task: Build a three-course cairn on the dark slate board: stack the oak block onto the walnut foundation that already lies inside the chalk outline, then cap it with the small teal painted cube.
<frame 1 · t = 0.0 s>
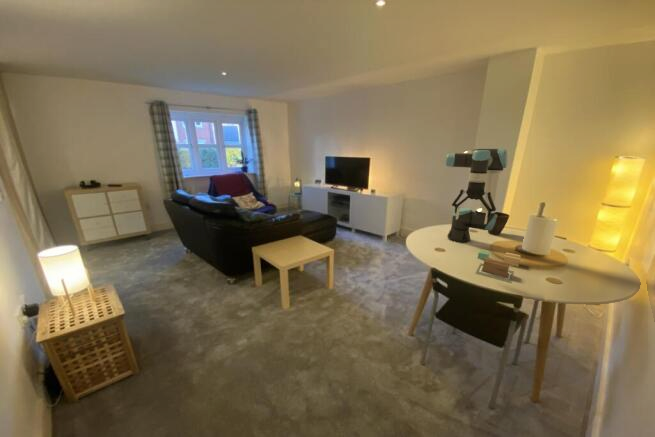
hand: (470, 221, 137), 28 cm above the table, fingers open, 13 cm apart
teal cap: (482, 259, 156), on the table
oak block: (510, 265, 149), on the table
walnut foundation: (494, 272, 138), point 1 cm above the table, touching slate board
slate board: (494, 274, 138), on the table
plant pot: (494, 233, 201), on the table
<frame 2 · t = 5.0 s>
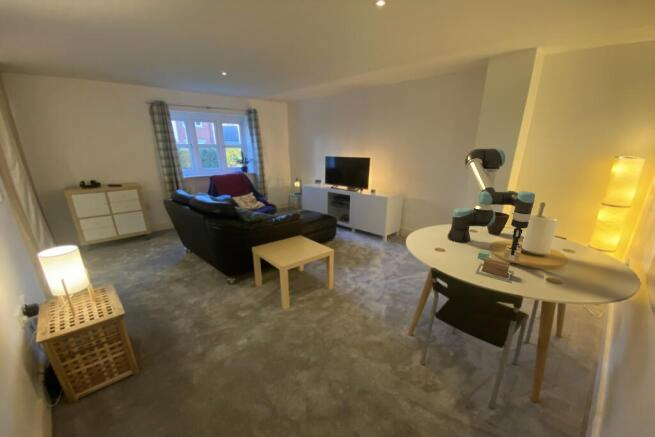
hand: (511, 257, 148), 4 cm above the table, fingers closed on oak block, 7 cm apart
oak block: (511, 258, 148), point 4 cm above the table, touching gripper
everything else where it was.
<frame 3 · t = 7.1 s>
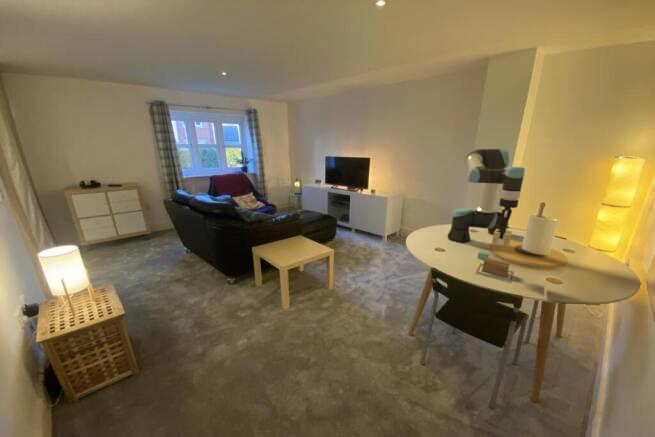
hand: (500, 242, 133), 19 cm above the table, fingers closed on oak block, 7 cm apart
oak block: (500, 242, 133), point 18 cm above the table, touching gripper
everything else where it was.
when the fingers open (8 cm above the table, at t = 9.3 s): oak block stays where it is, resting on walnut foundation.
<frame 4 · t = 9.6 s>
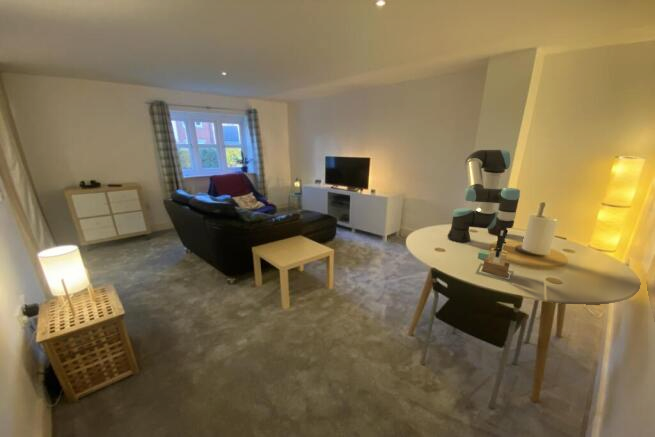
hand: (497, 258, 135), 9 cm above the table, fingers open, 11 cm apart
oak block: (496, 262, 136), point 7 cm above the table, touching walnut foundation
walnut foundation: (494, 272, 138), point 1 cm above the table, touching oak block, slate board
everything else where it was.
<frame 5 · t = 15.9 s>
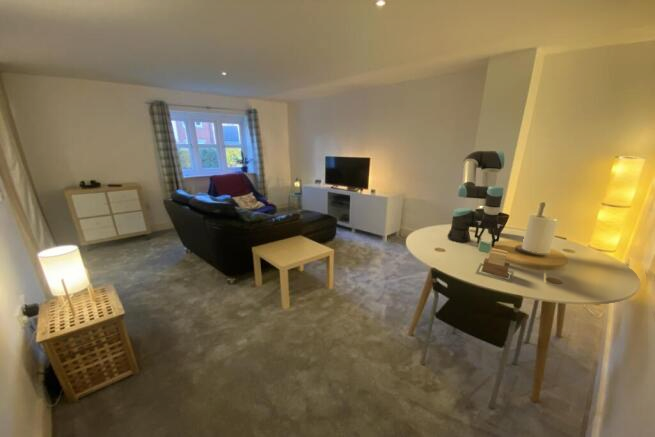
hand: (484, 250, 155), 6 cm above the table, fingers closed on teal cap, 5 cm apart
teal cap: (484, 250, 155), point 6 cm above the table, touching gripper
everything else where it was.
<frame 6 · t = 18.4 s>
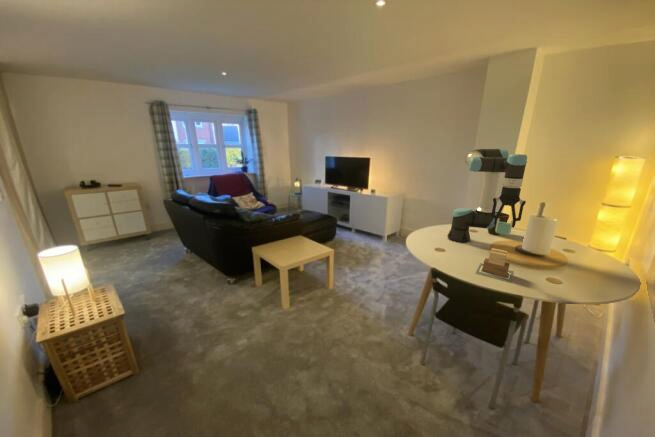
hand: (502, 231, 131), 24 cm above the table, fingers closed on teal cap, 5 cm apart
teal cap: (502, 232, 131), point 24 cm above the table, touching gripper
everything else where it was.
when the fingers open (14 cm above the table, at t = 21.0 s): teal cap stays where it is, resting on oak block.
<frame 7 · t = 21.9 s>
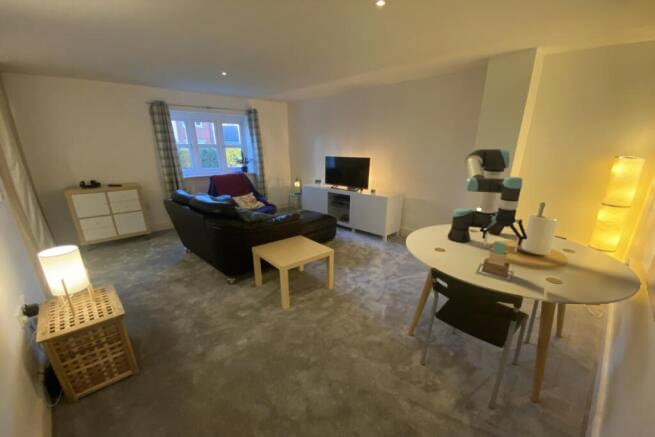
hand: (499, 247, 134), 15 cm above the table, fingers open, 13 cm apart
teal cap: (498, 251, 134), point 13 cm above the table, touching oak block
oak block: (496, 262, 136), point 7 cm above the table, touching teal cap, walnut foundation
everything else where it was.
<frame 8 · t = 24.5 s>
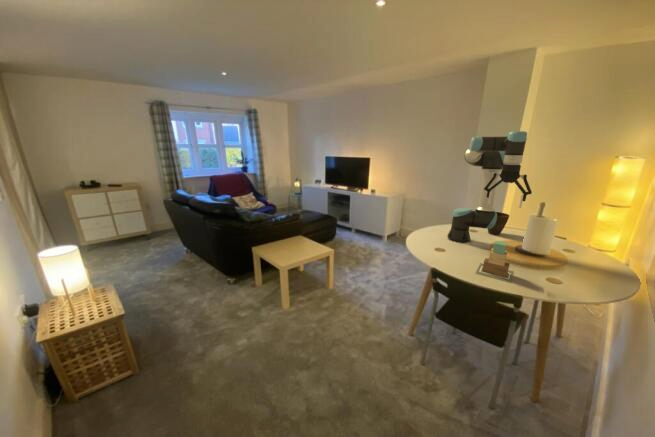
hand: (503, 205, 134), 37 cm above the table, fingers open, 13 cm apart
nothing on the table moved.
at the end: oak block 0.2 cm off-centre on the walnut foundation, point 6.0 cm above the walnut foundation's base; teal cap 0.4 cm off-centre on the oak block, point 6.0 cm above the oak block's base; teal cap tilted 0° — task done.
